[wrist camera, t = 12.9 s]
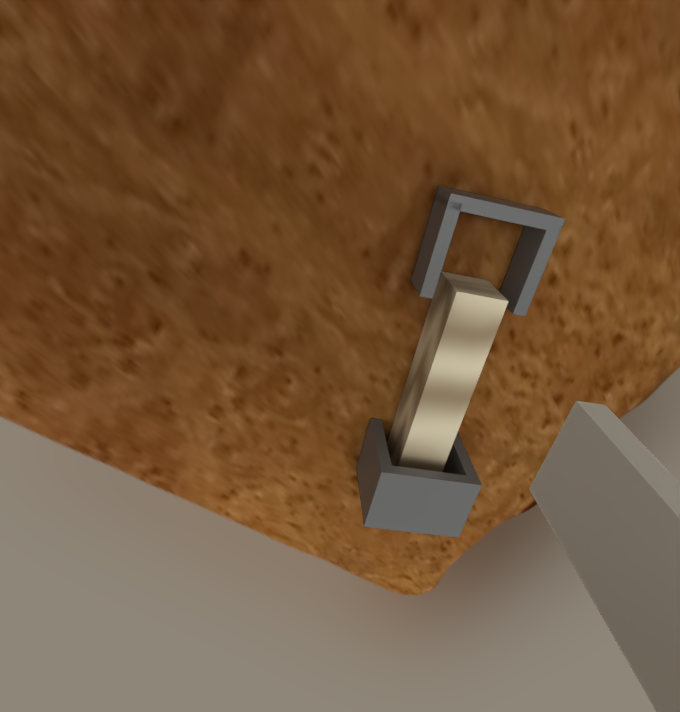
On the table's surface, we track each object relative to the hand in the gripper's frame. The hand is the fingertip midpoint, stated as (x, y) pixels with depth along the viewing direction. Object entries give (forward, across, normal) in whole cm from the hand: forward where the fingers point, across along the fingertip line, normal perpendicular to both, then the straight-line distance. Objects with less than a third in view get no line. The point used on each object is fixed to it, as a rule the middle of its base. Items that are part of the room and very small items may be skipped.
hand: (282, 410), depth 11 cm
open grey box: (+28, +15, -22) cm, 38 cm away
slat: (+28, +15, -13) cm, 34 cm away
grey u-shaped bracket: (+28, +15, -2) cm, 32 cm away
